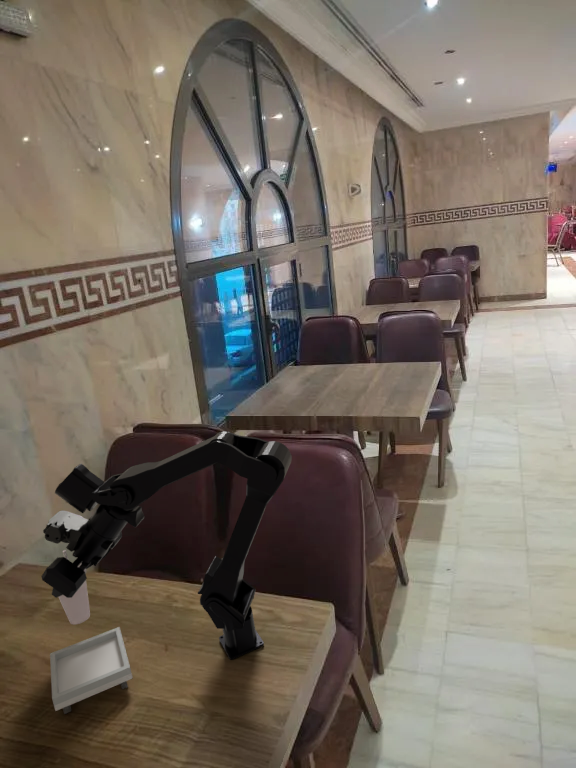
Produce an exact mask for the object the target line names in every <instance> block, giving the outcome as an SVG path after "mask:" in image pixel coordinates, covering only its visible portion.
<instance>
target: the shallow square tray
mask: <svg viewBox="0 0 576 768" xmlns="http://www.w3.org/2000/svg"><path fill="white" fill-rule="evenodd" d="M49 659H50V661H49V662H50V679H51V680H50V681H51V683H50V684H51V699H52V703H53V708H54V710H55V712H56V711H59V710H61V709H62V710H63V714H64V715H65V714H68V713H71V712H72V705H74V704H76V703H78V702H81V701H83V700H85V699H88V698H90V697H92V696H95V695H97V694H99V693H102V692H104V691H106V690H109V689H111V688H113V687H115V686H118V685H120V687H121V690H124V689H127V688H128V687H129V685H128V681H129V680H131V679H133V673H132V669H131V665H130V662H129V661H130V660H129V658H128V655H127V651H126V645H125V643H124V639H123V635H122V631H121V627H120V626H118V627H116V628H113V629H110V630H107V631H105V632H103V633H100V634H97V635H94V636H91V637H90V638H87V639H84V640H81V641H78V642H76V643H74V644H70V645H68V646H66V647H63V648H61V649H57V650H55V651H53V652H50V653H49Z"/></svg>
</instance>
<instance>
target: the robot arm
mask: <svg viewBox="0 0 576 768" xmlns="http://www.w3.org/2000/svg"><path fill="white" fill-rule="evenodd" d="M292 458H293V457H292V453H291V451H290V449H289V448H288V447H287V446H286V445H285V444H283V443H282V442H279V441H276V440H273V441H268V440H264V439H263V438H262V439H261V438H260V437H254V436H253V437H252V436H246V435H245V436H244V435H239V434H235V433H233V432H231V431H227V430H226V431H219V432H217V433H216V434H215V435H214V436H212V437H210V438H208V439H205V440H203V441H201V442H199V443H196V444H194V445H193V446H191V447H188V448H186V449H183V450H182V451H179V452H177V453H175V454H174V455H173V454H172V456H169V457H167V458H164V459H163V460H159V461H155V462H152V461H151V462H149V461H148V462H143V463H140V464H136V465H133V466H130V467H129V468H128V469H126V470H125V471H124V472H123V473H117V474H113V475H111V476H110V477H108V479H106V480H105V481H104V480H103V479H101V478H100V477H99V476H97V475H96V474H94V473H93V472H92V471H90V470H89V468H88V467H86V466H85V465H84V464H83V463H79V464H77V465H76V466H75V467H74V468H73V469H72V471H71V472H70V473H69V474H67V476H66V477H65V478H64V479H63V481H61V482H60V483H59V484H58V485H57V486H56V489H55V491H54V494H55V495H57V496H58V497H59V498H60V499H63V501H65V502H66V503H67V504H68V505H70V506H72V507H73V508H74V509H76V510H77V511H78V512H80V513H81V514H84V513H85V512H86V511H89V512H91V511H92V510H93V509H95V507H96V506H97V505H99V506H98V507H97V509H96V510H95V511H94V513H93V514H92V515H91V516H90V517H89V518H85V517H83V516H82V515H80V514H77V513H74V512H71V511H68V510H63V509H62V510H59V511H58V512H57V513H55V514H54V515H53V516H52V517H50V519H49V520H48V523H47V524H45V525H46V526H45V528H43V530H42V532H43V534H44V540H46V541H48V542H51V543H53V544H56V545H57V544H58V545H59V543H61V542H62V543H64V544H67V545H66V547H65V549H67V550H68V551H70V552H72V553H71V556H72V557H74V558H76V559H74V561H73V562H72V561H71V560H69V558H68V559H66V558H65V557H64V556H60V557H59V556H57V557H56V558H55V559H54V560H53V561H52V562H51V563H50V564H49V565H48V566H47V568H46V569H45V570H44V571H43V573H42V575H40V576H41V580H42V581H43V582H44V583H46V584H47V585H49V586H50V587H51V588H52V590H51V596H53V597H54V598H59V596H61V595H64V596H66V597H67V598H72V597H73V596H74V594H75V593H76V592H77V591H78V590H79V588H80V587H81V586H82V584H83V583H84V582H85V580H86V581H87V579H88V577H87V572H86V573H85V571H84V570H85V569H86V570H88V569H89V568H90V567H92V566H94V567H96V566H97V565H98V563H100V561H102V560H103V559H105V558H106V557H107V555H108V554H109V553H110V552H111V550H113V548H114V547H115V546H116V545H117V544H118V543H119V541H120V540H121V539H122V538H123V533H122V531H123V530H124V528H125V527H126V525H127V524H128V525H130V526H132V527H133V528H137V527H138V526H139V524H141V522H142V521H143V520H144V519H145V514H144V512H143V510H142V506H140V505H141V504H143V503H144V502H146V501H147V500H148V499H150V498H151V497H152V496H153V495H154V494H156V493H157V492H158V491H160V490H161V489H162V488H164V487H166V486H169V485H171V484H173V483H175V482H177V481H180V480H182V479H184V478H186V477H189V476H192V475H194V474H195V473H198V472H200V471H202V470H204V469H207V468H209V467H211V466H213V465H215V464H216V465H217V464H221V465H224V466H225V467H227V468H229V469H230V470H231V471H232V472H233V473H235V474H236V475H238V476H240V477H242V478H245V479H247V480H246V487H245V489H246V491H245V492H246V494H245V495H246V496H245V499H244V502H243V503H242V507H241V510H240V512H239V514H238V517H237V520H236V523H235V525H234V528H233V531H232V533H231V535H230V538H229V541H228V544H227V546H226V549H225V551H224V553H223V557H222V558H220V557H219V556H217V555H215V556H214V557H213V559H212V561H211V563H210V565H209V567H208V568H207V570H206V573H205V574H204V578H203V581H202V584H201V586H200V588H199V590H198V592H197V595H200V598H199V604H200V606H201V607H202V609H204V611H206V613H207V614H208V616H209V618H210V619H211V621H212V623H213V624H214V626H215V628H216V629H218V630H219V629H221V630H222V635H220V636H219V637H218V640H219V643H220V644H221V646H222V647H223V649H224V651H225V653H226V656H227V657H228V659H229V660H235V659H237V658H239V657H242V656H244V655H246V654H248V653H250V652H253V651H255V650H258V649H259V648H261V647H264V645H265V642H264V639H262V637H261V636H260V634H259V633H258V631H257V630H256V626H255V625H256V624H255V618H254V614H253V608H252V606H251V605H252V603H253V600H254V598H255V595H256V591H257V590H256V588H255V587H254V586H253V585H252V584H250V583H249V582H248V581H246V580H245V579H244V578H243V577H244V572H245V561H246V558H247V555H248V554H249V551H250V548H251V545H252V543H253V541H254V539H255V535H256V533H257V531H258V528H259V525H260V523H261V520H262V519H263V515H264V513H265V510H266V508H267V506H268V504H269V502H270V501H271V500H272V498H273V497H275V496H274V495H276V493H277V491H278V489H280V486H281V485H282V483H283V481H284V480H285V477H286V475H287V473H288V470H289V468H290V465H291V464H292V460H293V459H292ZM81 563H82V564H81ZM80 564H81V566H80V567H78V566H79V565H80Z"/></svg>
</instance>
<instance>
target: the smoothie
mask: <svg viewBox="0 0 576 768" xmlns="http://www.w3.org/2000/svg"><path fill="white" fill-rule="evenodd" d="M62 553H63V554H62V555H63V557H65V558H66V559H68V560H69V557H68V554H67V550H66V549H64V550H62ZM81 564H82V563H81ZM81 564H80V565H79V566H78V567H80V566H81ZM84 571H85V573H86V574H87V572H88V571H87V569H85V570H84ZM88 594H89V593H88V585H87V579H86V580H85V582H84V583H83V584H82V586H81V587H80V588H79V590H78V591H77V592H76V593H75V594H74V596H73V597H72V598H67V597H66V596H64V595H61V596H59V597H58V599H59V601H60V604H61V606H62V608H63V610H64V612H65V616H66V617H67V620H68V621H69V623H70V624H71V625H79V624H82V623H84V622H86V621H87V620H88V619H89V618H90V616H91V612H90V611H91V610H90V601H89V595H88Z"/></svg>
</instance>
